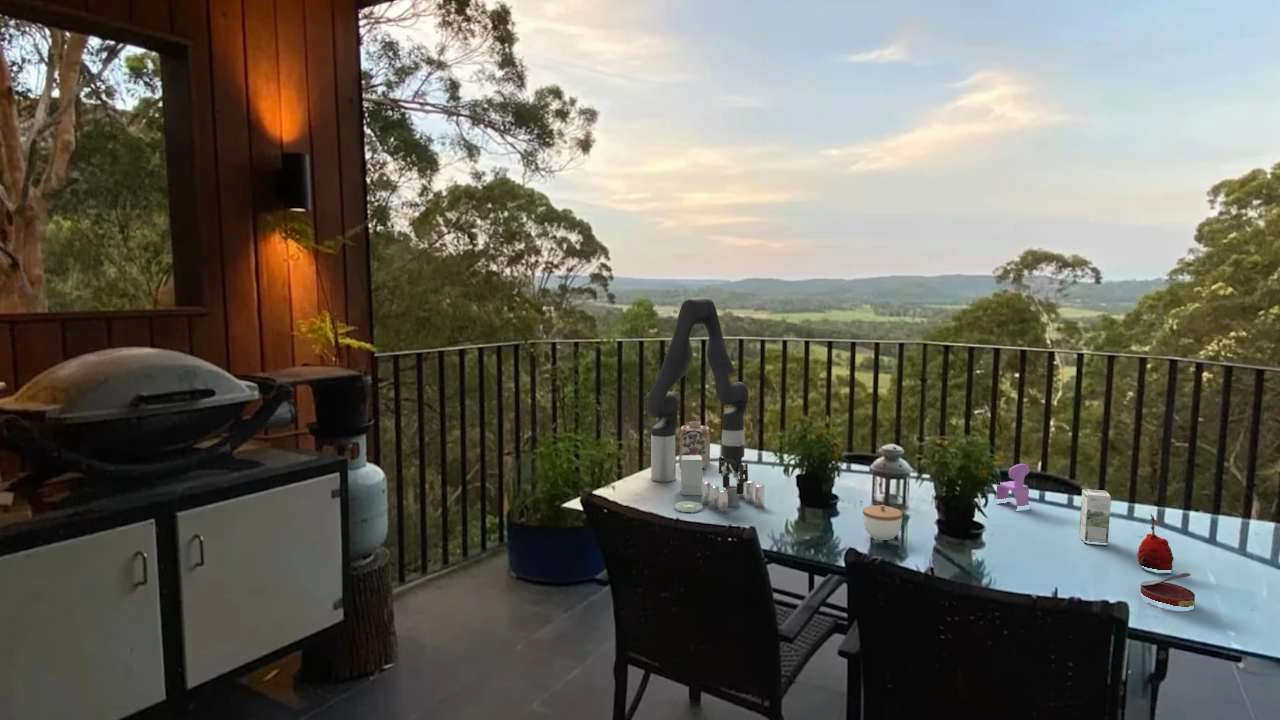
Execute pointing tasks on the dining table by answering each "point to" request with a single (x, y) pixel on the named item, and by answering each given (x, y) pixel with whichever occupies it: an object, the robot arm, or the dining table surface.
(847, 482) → the dining table surface
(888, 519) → the lidded jar
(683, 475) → the supplement box
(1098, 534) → the syrup box
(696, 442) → the decorative jar
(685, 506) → the saucer
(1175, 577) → the canned food
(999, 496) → the toy chair
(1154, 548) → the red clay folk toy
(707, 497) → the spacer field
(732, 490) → the grey upright block
